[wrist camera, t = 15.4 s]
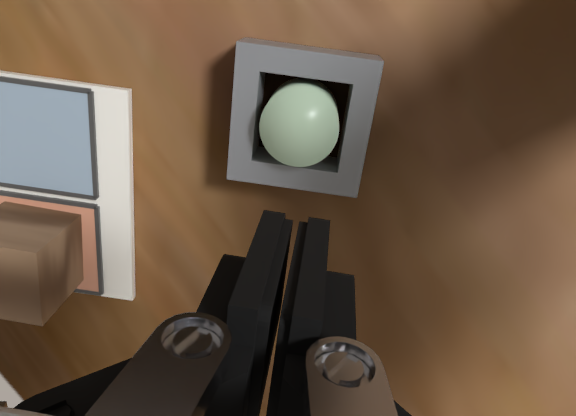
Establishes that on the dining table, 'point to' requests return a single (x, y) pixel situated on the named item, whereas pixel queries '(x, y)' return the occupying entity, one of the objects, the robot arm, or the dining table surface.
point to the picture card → (74, 167)
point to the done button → (300, 123)
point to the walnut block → (37, 261)
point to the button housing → (309, 64)
